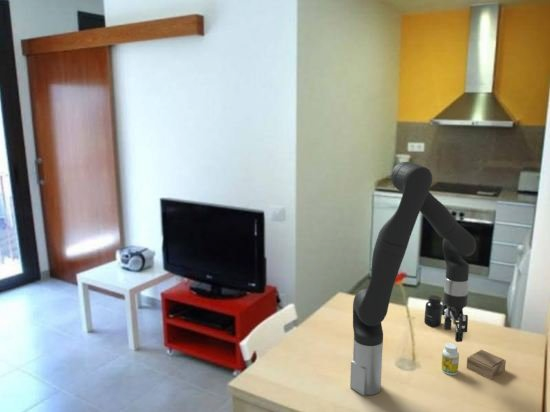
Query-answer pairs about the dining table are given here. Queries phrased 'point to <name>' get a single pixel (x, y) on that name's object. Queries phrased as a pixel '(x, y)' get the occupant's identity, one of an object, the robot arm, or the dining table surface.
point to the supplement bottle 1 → (433, 311)
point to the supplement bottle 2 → (450, 359)
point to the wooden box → (486, 364)
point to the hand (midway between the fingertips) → (452, 335)
